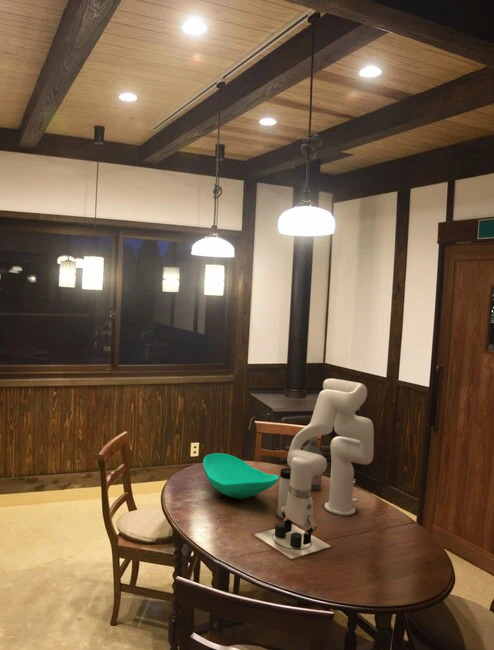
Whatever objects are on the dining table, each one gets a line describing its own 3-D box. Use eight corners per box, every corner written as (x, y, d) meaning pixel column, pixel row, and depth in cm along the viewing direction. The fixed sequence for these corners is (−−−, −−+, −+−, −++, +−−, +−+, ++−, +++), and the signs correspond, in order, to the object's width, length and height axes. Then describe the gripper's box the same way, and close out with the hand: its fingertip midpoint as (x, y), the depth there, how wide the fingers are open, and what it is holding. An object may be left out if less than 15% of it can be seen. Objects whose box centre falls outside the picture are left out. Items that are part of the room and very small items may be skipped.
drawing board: (292, 524, 213) (292, 523, 213) (331, 547, 196) (331, 545, 196) (253, 535, 202) (253, 533, 202) (291, 559, 185) (291, 558, 185)
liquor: (321, 490, 251) (326, 428, 249) (302, 489, 251) (306, 426, 249) (316, 483, 260) (321, 423, 259) (298, 482, 260) (302, 421, 259)
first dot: (280, 533, 204) (280, 522, 204) (287, 536, 200) (288, 526, 200) (272, 534, 202) (273, 524, 202) (279, 538, 198) (280, 528, 198)
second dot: (295, 542, 197) (296, 531, 197) (303, 546, 194) (304, 536, 193) (287, 544, 195) (288, 533, 195) (295, 549, 191) (296, 538, 191)
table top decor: (292, 505, 232) (294, 475, 231) (245, 518, 216) (247, 486, 215) (231, 476, 264) (233, 449, 263) (186, 485, 248) (188, 457, 247)
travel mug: (293, 520, 216) (297, 472, 215) (276, 518, 218) (280, 470, 216) (293, 514, 222) (296, 467, 221) (277, 512, 224) (280, 465, 223)
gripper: (325, 498, 188) (322, 545, 189) (290, 481, 203) (287, 525, 204) (310, 502, 184) (307, 550, 185) (275, 485, 199) (273, 529, 200)
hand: (296, 537), depth 195 cm, fingers open, 9 cm apart
